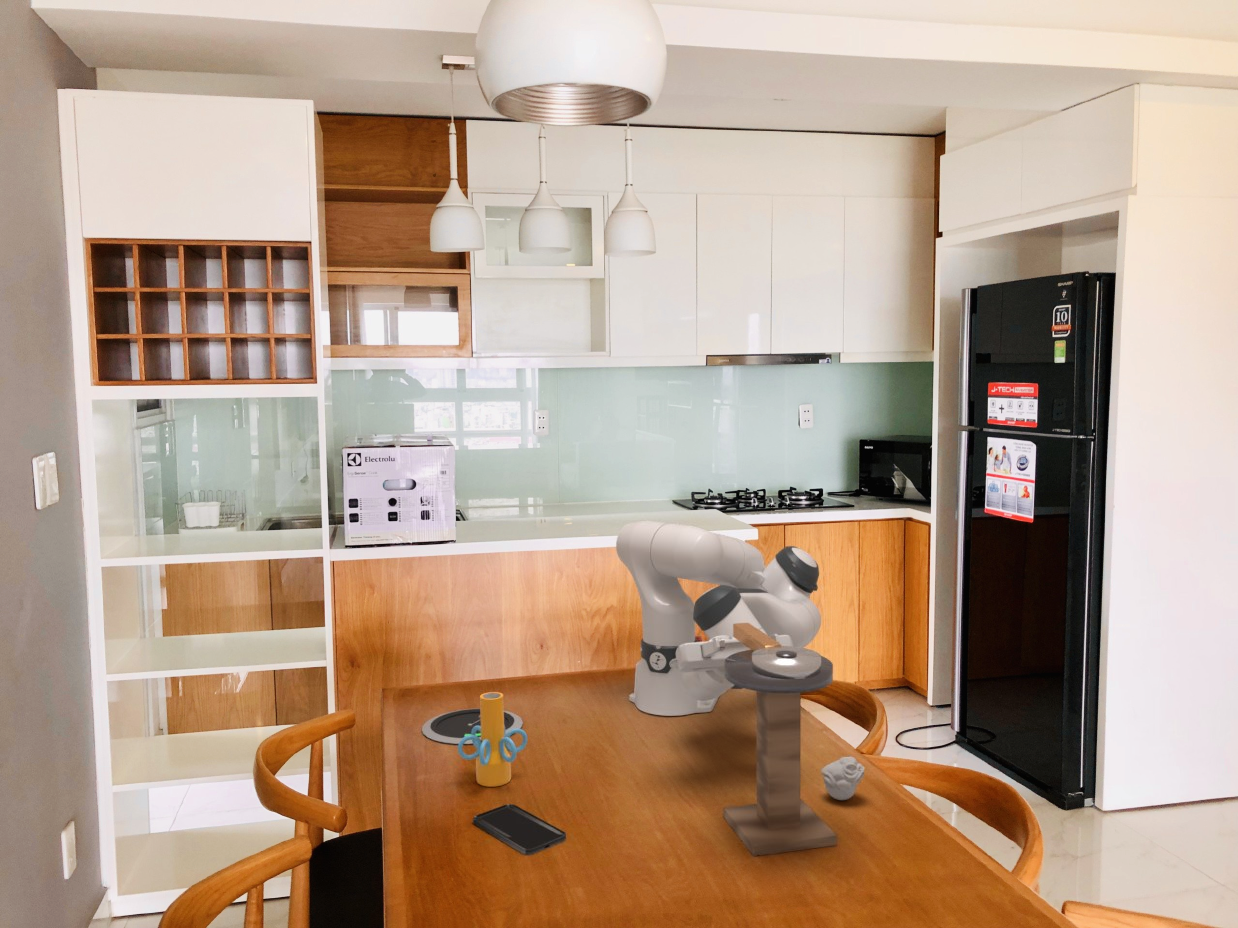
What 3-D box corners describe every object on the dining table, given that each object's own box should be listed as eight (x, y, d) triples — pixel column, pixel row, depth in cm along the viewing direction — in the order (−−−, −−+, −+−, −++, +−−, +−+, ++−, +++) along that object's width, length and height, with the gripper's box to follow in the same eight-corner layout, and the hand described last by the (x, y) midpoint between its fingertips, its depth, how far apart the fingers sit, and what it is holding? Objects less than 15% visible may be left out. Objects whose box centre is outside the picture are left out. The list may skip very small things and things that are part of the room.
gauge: (525, 742, 183) (524, 737, 182) (418, 749, 180) (418, 744, 180) (521, 708, 202) (520, 703, 202) (425, 713, 200) (425, 709, 199)
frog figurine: (863, 809, 151) (864, 766, 151) (818, 804, 154) (819, 762, 153) (865, 793, 157) (865, 752, 157) (822, 788, 159) (822, 748, 159)
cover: (712, 638, 157) (711, 624, 157) (768, 633, 159) (768, 620, 159) (767, 681, 134) (767, 665, 133) (832, 675, 136) (833, 660, 136)
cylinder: (512, 797, 158) (509, 709, 156) (452, 792, 160) (450, 705, 158) (533, 768, 170) (531, 686, 168) (477, 764, 172) (475, 683, 170)
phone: (510, 802, 154) (569, 834, 143) (511, 809, 154) (569, 841, 143) (469, 817, 149) (526, 851, 138) (469, 824, 149) (526, 858, 138)
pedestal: (711, 813, 151) (710, 652, 148) (805, 802, 154) (805, 644, 152) (747, 862, 135) (747, 683, 133) (851, 848, 139) (852, 674, 137)
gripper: (663, 649, 167) (684, 627, 155) (772, 640, 172) (800, 618, 160) (669, 684, 165) (690, 665, 152) (779, 674, 170) (808, 654, 157)
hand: (747, 641), depth 156 cm, fingers open, 8 cm apart
